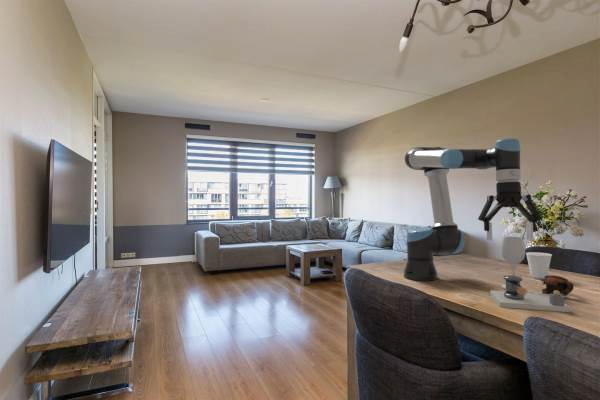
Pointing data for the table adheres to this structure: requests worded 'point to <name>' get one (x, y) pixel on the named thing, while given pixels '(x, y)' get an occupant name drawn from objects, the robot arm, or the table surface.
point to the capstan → (514, 287)
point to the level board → (533, 301)
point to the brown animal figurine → (556, 285)
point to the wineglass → (513, 252)
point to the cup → (538, 264)
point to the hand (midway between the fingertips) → (509, 240)
